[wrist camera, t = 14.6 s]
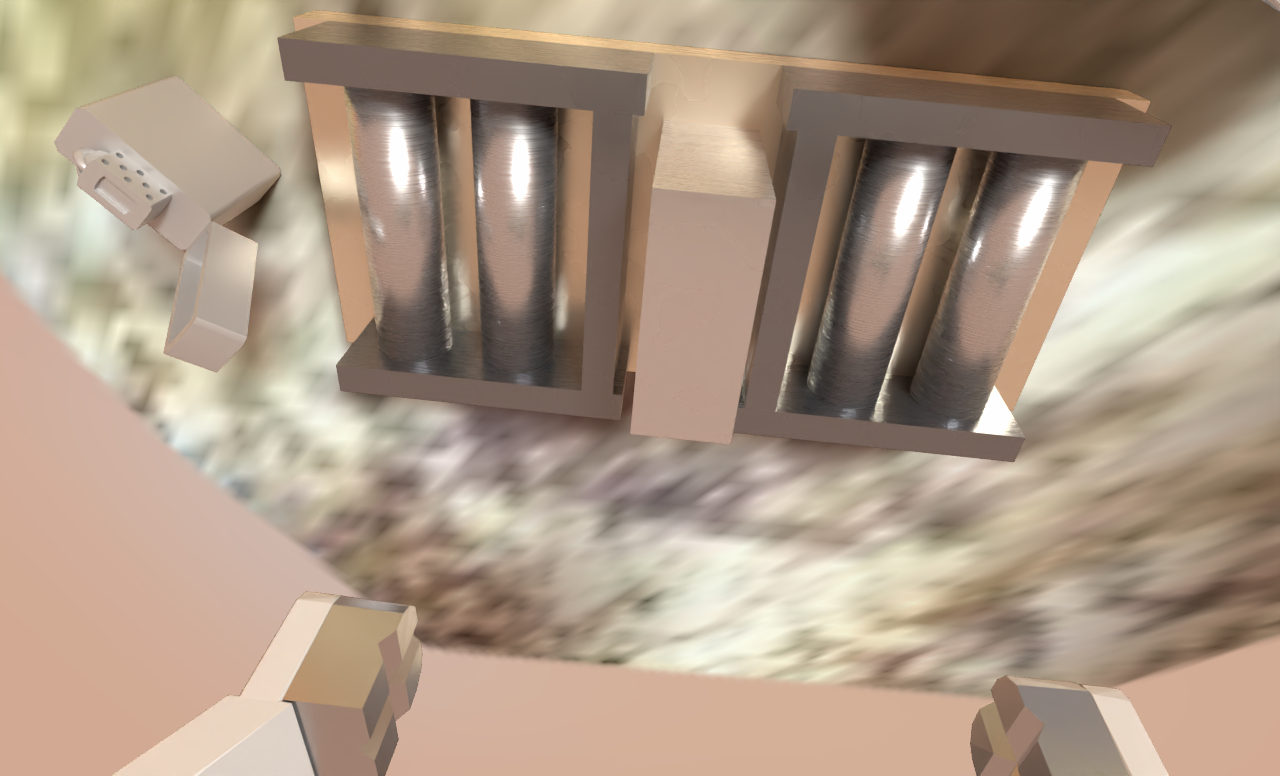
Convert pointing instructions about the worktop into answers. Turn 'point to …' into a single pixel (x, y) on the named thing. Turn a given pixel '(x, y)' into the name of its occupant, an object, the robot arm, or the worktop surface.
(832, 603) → the worktop surface
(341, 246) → the metal roller rack
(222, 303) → the lighter
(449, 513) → the worktop surface
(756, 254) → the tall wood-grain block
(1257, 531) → the worktop surface
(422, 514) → the worktop surface
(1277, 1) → the chinaware
